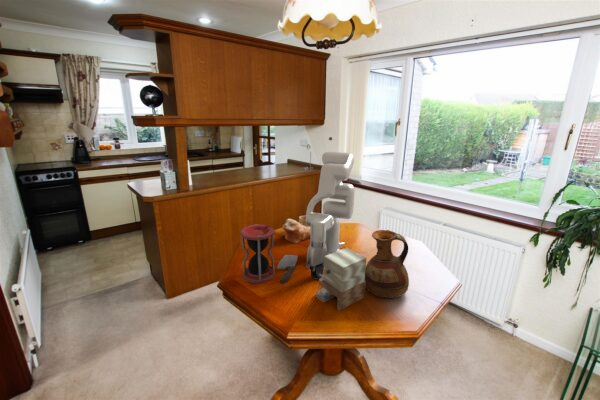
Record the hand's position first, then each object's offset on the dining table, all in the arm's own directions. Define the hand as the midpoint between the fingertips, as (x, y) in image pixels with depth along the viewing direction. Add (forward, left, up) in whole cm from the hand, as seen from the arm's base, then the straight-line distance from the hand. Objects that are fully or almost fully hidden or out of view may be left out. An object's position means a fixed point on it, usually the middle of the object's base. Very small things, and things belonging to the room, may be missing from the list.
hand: (316, 275), depth 148 cm
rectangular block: (+7, +15, -1) cm, 17 cm away
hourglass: (+23, -19, -1) cm, 30 cm away
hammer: (0, +9, -1) cm, 9 cm away
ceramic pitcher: (-19, +28, -1) cm, 34 cm away
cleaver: (+8, -16, -2) cm, 18 cm away
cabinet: (+1, +19, -1) cm, 19 cm away
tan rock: (-21, -44, -1) cm, 49 cm away
